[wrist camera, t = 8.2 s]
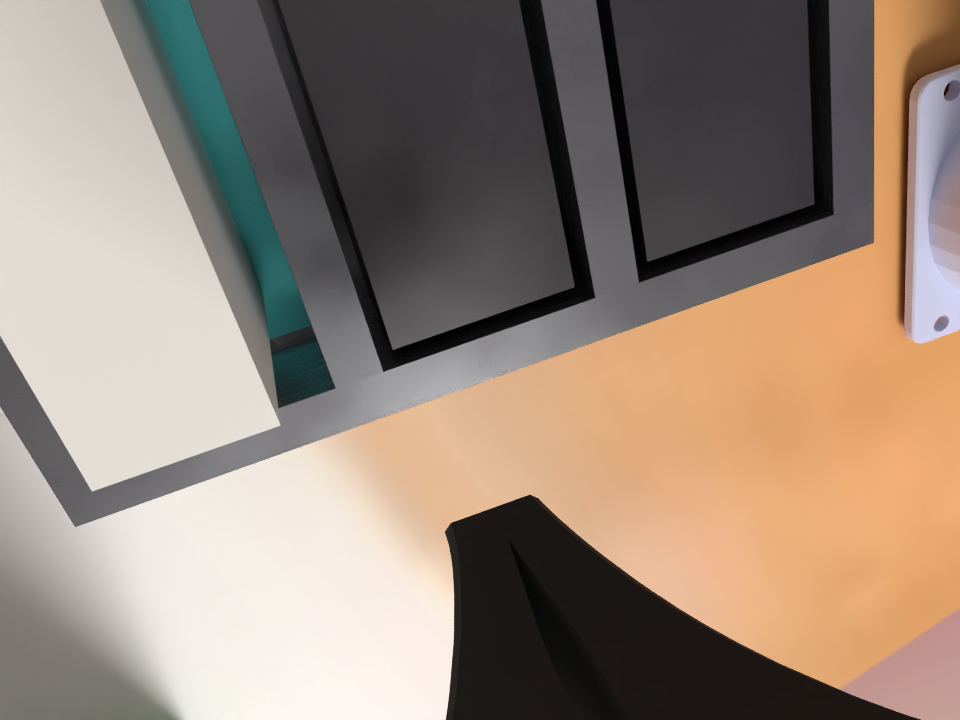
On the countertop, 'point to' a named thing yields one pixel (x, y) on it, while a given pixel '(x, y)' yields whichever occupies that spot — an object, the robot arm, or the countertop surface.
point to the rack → (496, 186)
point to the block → (120, 247)
